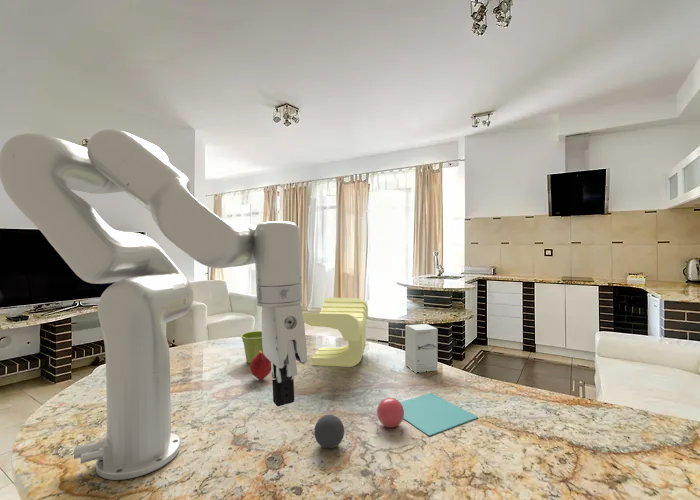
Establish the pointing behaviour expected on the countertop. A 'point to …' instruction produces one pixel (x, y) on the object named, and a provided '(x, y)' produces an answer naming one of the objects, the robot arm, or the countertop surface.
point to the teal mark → (434, 414)
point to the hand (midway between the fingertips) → (283, 402)
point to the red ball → (390, 412)
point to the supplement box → (421, 347)
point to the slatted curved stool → (341, 330)
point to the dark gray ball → (329, 431)
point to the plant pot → (252, 344)
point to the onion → (260, 366)
